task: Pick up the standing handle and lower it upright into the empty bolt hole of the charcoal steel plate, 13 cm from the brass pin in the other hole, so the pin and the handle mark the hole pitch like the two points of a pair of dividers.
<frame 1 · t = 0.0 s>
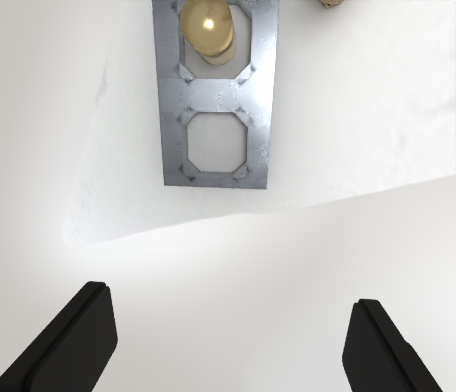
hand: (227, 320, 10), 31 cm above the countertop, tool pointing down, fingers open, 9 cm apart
bolt plate: (217, 96, 37), on the countertop
brass pin: (217, 44, 35), resting in bolt plate
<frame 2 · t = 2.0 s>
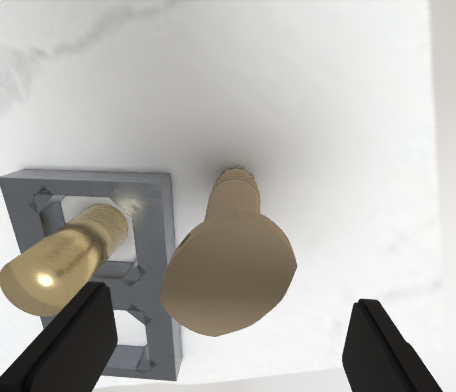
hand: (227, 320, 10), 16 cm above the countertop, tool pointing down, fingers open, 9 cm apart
handle: (236, 180, 25), on the countertop
bolt plate: (113, 275, 30), on the countertop
brass pin: (105, 225, 28), resting in bolt plate
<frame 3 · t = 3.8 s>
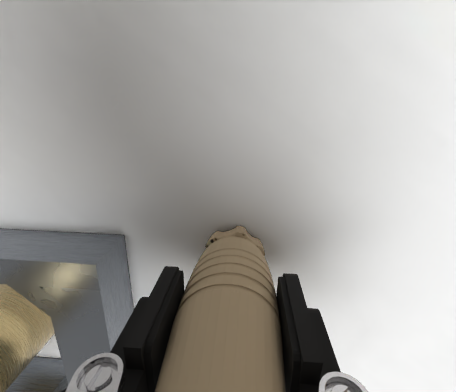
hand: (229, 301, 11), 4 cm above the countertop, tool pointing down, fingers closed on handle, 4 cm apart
handle: (234, 246, 15), on the countertop, touching gripper
bolt plate: (47, 376, 20), on the countertop
brass pin: (27, 308, 18), resting in bolt plate
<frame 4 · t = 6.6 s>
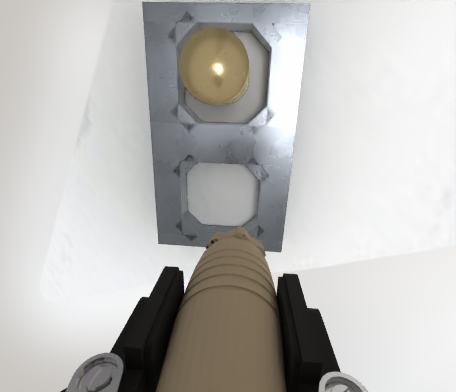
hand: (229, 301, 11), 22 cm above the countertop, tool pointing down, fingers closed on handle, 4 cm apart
handle: (235, 247, 15), point 17 cm above the countertop, touching gripper
bolt plate: (223, 140, 30), on the countertop
brass pin: (225, 79, 28), resting in bolt plate
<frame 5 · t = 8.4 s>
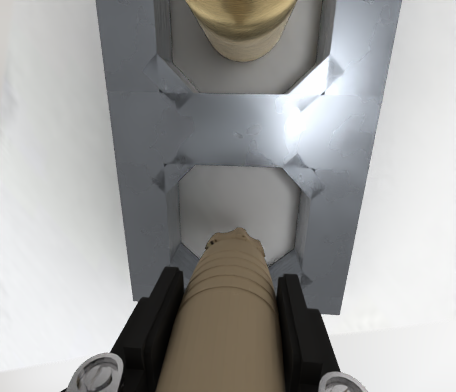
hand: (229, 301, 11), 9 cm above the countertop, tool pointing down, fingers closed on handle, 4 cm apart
handle: (234, 248, 15), point 5 cm above the countertop, touching gripper
bolt plate: (240, 127, 18), on the countertop
brass pin: (244, 15, 15), resting in bolt plate
when the fingers open (6 cm above the countertop, at t = 9.5 s): handle drops 1 cm, resting in bolt plate.
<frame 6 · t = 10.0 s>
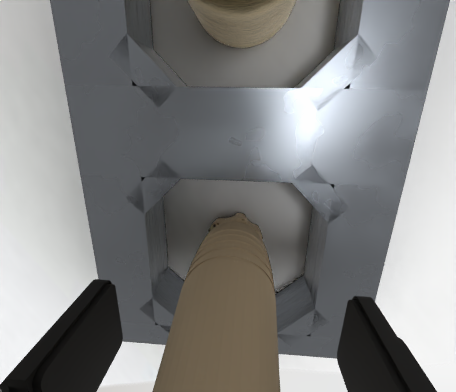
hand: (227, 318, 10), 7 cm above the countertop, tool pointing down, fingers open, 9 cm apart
handle: (235, 232, 17), resting in bolt plate
bolt plate: (239, 130, 14), on the countertop
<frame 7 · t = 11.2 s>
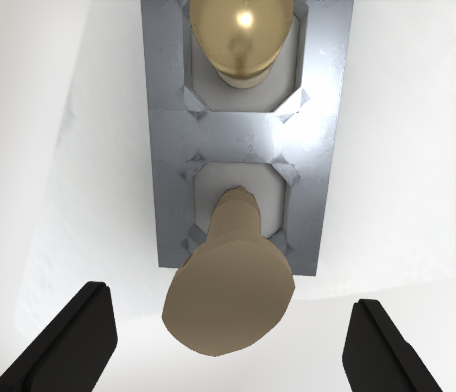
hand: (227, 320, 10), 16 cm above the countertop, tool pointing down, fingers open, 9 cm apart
handle: (238, 200, 26), resting in bolt plate
bolt plate: (240, 135, 24), on the countertop
brass pin: (243, 56, 22), resting in bolt plate
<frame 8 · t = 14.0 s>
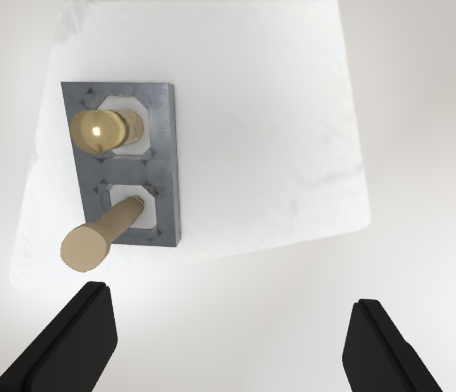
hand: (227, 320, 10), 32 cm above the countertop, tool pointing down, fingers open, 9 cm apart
handle: (136, 203, 45), resting in bolt plate
bolt plate: (132, 167, 42), on the countertop
brass pin: (127, 126, 40), resting in bolt plate
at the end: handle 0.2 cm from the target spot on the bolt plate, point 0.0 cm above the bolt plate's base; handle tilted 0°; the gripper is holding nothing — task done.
